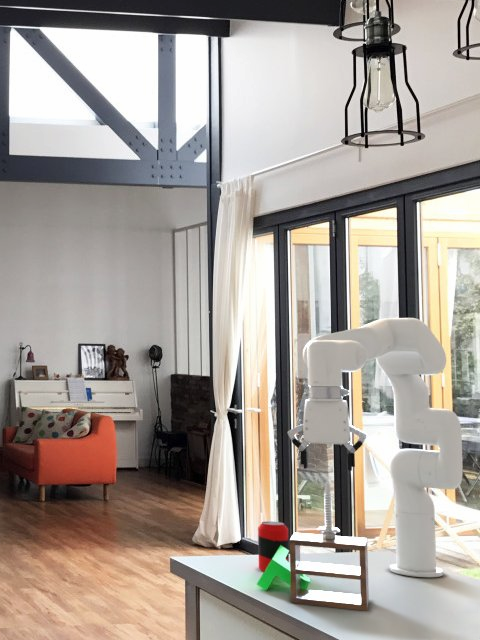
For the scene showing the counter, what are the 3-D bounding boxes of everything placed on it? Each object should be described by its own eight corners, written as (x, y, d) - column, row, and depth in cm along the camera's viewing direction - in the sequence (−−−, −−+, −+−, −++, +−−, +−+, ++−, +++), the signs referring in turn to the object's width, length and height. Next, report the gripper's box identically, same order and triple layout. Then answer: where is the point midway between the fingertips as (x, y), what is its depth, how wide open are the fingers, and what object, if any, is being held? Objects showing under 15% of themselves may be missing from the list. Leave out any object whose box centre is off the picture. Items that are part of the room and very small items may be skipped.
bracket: (293, 610, 237) (309, 584, 236) (256, 584, 241) (272, 559, 240) (301, 591, 256) (316, 567, 255) (266, 568, 259) (280, 544, 259)
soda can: (264, 566, 269) (263, 519, 270) (293, 569, 264) (292, 522, 266) (254, 570, 263) (253, 523, 264) (283, 574, 258) (282, 526, 259)
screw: (332, 536, 234) (344, 540, 229) (313, 537, 233) (325, 541, 228) (331, 479, 235) (342, 482, 231) (312, 479, 234) (323, 482, 230)
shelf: (295, 593, 237) (294, 532, 239) (368, 601, 231) (367, 538, 232) (290, 602, 228) (289, 539, 230) (366, 610, 222) (365, 545, 223)
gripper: (366, 394, 235) (368, 469, 233) (288, 392, 242) (290, 465, 240) (364, 395, 228) (367, 473, 226) (284, 394, 235) (286, 469, 233)
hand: (327, 469), depth 233 cm, fingers open, 9 cm apart
